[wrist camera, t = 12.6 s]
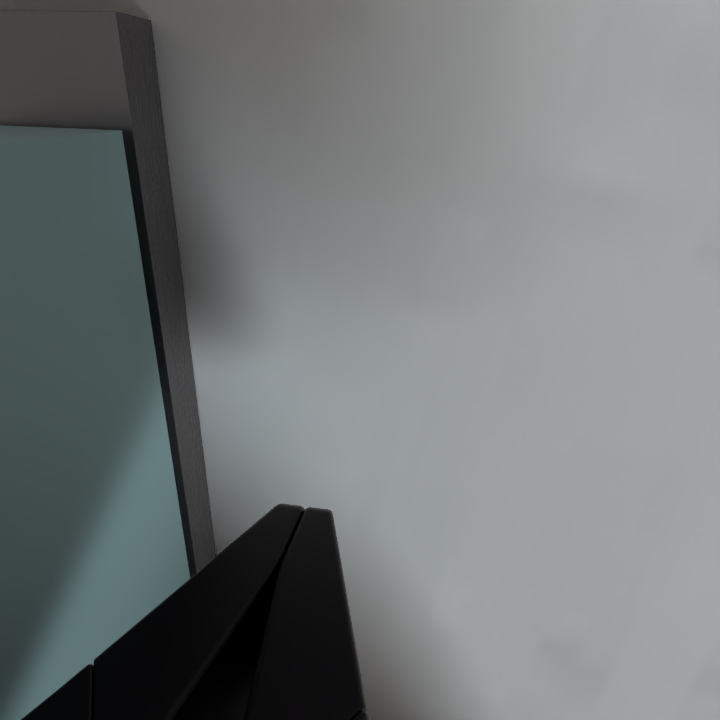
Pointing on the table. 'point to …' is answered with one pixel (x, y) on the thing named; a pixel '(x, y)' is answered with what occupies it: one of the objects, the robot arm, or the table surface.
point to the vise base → (148, 188)
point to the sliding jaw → (76, 415)
